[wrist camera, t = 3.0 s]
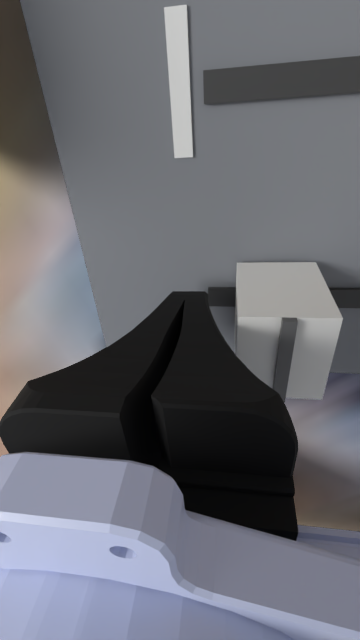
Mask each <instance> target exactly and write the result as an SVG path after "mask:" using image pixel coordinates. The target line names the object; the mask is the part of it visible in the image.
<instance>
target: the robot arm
mask: <svg viewBox="0 0 360 640" xmlns="http://www.w3.org/2000/svg"><path fill="white" fill-rule="evenodd" d="M0 437H1V439H2V442H3V444H4V446H5V447H6V449H7V450H8V452H9V454H6V455H2V456H1V457H0V640H360V532H359V531H350V530H340V529H331V528H321V527H312V526H302V525H297V519H296V512H295V505H294V498H293V496H294V494H295V488H294V482H293V471H294V466H295V461H296V457H297V452H298V440H297V436H296V432H295V429H294V426H293V423H292V420H291V417H290V415H289V413H288V410H287V408H286V406H285V404H284V402H283V400H282V398H281V396H280V394H279V393H278V392H276V391H275V390H273V389H272V388H271V387H269V386H268V385H267V384H265V383H264V382H263V381H261V380H260V379H259V378H258V377H257V376H255V375H254V374H253V373H252V372H251V371H250V370H249V369H248V368H247V367H246V366H245V365H244V363H243V362H242V361H241V360H240V359H239V358H238V357H237V356H236V354H235V353H234V352H233V351H232V349H231V348H230V346H229V345H228V344H227V342H226V341H225V339H224V337H223V336H222V334H221V332H220V330H219V329H218V327H217V325H216V323H215V320H214V318H213V316H212V313H211V310H210V307H209V303H208V294H207V293H206V292H205V291H172V292H171V293H170V294H169V295H168V296H167V297H166V298H165V299H164V301H163V302H162V303H161V304H160V305H159V306H158V307H157V308H156V309H155V310H154V311H153V312H152V313H151V314H150V315H149V316H148V317H146V318H145V319H144V320H143V321H142V322H141V323H140V324H138V325H137V326H136V327H135V328H134V329H133V330H131V331H130V332H129V333H127V334H126V335H125V336H123V337H122V338H120V339H119V340H117V341H116V342H114V343H113V344H111V345H110V346H108V347H106V348H104V349H103V350H101V351H99V352H97V353H96V354H94V355H92V356H90V357H88V358H86V359H84V360H82V361H80V362H78V363H75V364H73V365H71V366H69V367H66V368H64V369H61V370H59V371H56V372H53V373H51V374H48V375H45V376H42V377H39V378H37V379H34V380H30V381H28V382H27V384H26V385H25V386H24V388H23V389H22V390H21V392H20V393H19V395H18V396H17V397H16V399H15V400H14V402H13V403H12V404H11V406H10V407H9V409H8V410H7V412H6V413H5V414H4V416H3V417H2V419H1V421H0Z"/></svg>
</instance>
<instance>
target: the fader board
mask: <svg viewBox="0 0 360 640" xmlns="http://www.w3.org/2000/svg"><path fill="white" fill-rule="evenodd" d="M20 3H21V7H22V11H23V15H24V19H25V23H26V27H27V31H28V35H29V39H30V43H31V47H32V51H33V55H34V59H35V63H36V67H37V71H38V75H39V79H40V83H41V87H42V91H43V95H44V99H45V103H46V107H47V111H48V115H49V119H50V123H51V127H52V131H53V135H54V139H55V143H56V147H57V151H58V155H59V159H60V163H61V167H62V171H63V175H64V179H65V183H66V187H67V191H68V195H69V199H70V203H71V207H72V211H73V215H74V219H75V223H76V227H77V231H78V235H79V239H80V243H81V247H82V251H83V255H84V259H85V263H86V268H87V272H88V276H89V280H90V284H91V288H92V292H93V296H94V300H95V304H96V308H97V312H98V316H99V320H100V324H101V328H102V332H103V336H104V340H105V344H106V347H108V346H110V345H111V344H113V343H114V342H116V341H117V340H119V339H120V338H122V337H123V336H125V335H126V334H127V333H129V332H130V331H131V330H133V329H134V328H135V327H136V326H137V325H138V324H140V323H141V322H142V321H143V320H144V319H145V318H146V317H148V316H149V315H150V314H151V313H152V312H153V311H154V310H155V309H156V308H157V307H158V306H159V305H160V304H161V303H162V302H163V301H164V299H165V298H166V297H167V296H168V295H169V294H170V293H171V292H172V291H205V292H206V293H207V294H208V303H209V307H210V310H211V313H212V316H213V318H214V320H215V323H216V325H217V327H218V329H219V330H220V332H221V334H222V336H223V337H224V339H225V341H226V342H227V344H228V345H229V346H230V348H231V349H232V351H233V352H234V353H235V304H236V273H237V263H258V262H316V263H317V266H318V268H319V270H320V272H321V274H322V276H323V278H324V280H325V282H326V284H327V286H328V288H329V290H330V292H331V295H332V297H333V299H334V301H335V303H336V305H337V307H338V309H339V311H340V313H341V315H342V317H343V321H342V325H341V329H340V332H339V336H338V340H337V344H336V348H335V352H334V356H333V360H332V364H331V368H330V371H329V372H330V373H354V374H360V0H20Z"/></svg>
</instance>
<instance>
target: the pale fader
mask: <svg viewBox="0 0 360 640" xmlns="http://www.w3.org/2000/svg"><path fill="white" fill-rule="evenodd" d="M342 321H343V317H342V315H341V313H340V311H339V309H338V307H337V305H336V303H335V301H334V299H333V297H332V295H331V292H330V290H329V288H328V286H327V284H326V282H325V280H324V278H323V276H322V274H321V272H320V270H319V268H318V266H317V263H316V262H258V263H237V273H236V304H235V354H236V356H237V357H238V358H239V359H240V360H241V361H242V362H243V363H244V365H245V366H246V367H247V368H248V369H249V370H250V371H251V372H252V373H253V374H254V375H255V376H257V377H258V378H259V379H260V380H261V381H263V382H264V383H265V384H267V385H268V386H269V387H271V388H272V389H273V390H275V391H276V392H278V393H279V394H280V396H281V398H282V400H283V402H285V398H297V399H316V400H322V399H323V395H324V391H325V387H326V383H327V379H328V375H329V371H330V368H331V364H332V360H333V356H334V352H335V348H336V344H337V340H338V336H339V332H340V329H341V325H342Z"/></svg>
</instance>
